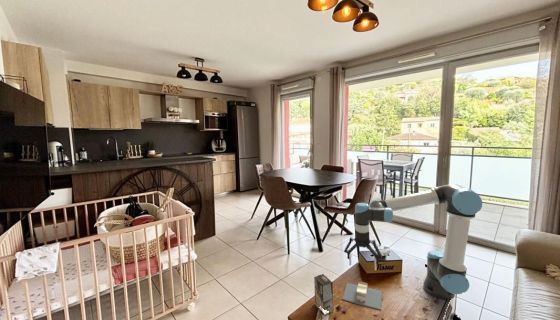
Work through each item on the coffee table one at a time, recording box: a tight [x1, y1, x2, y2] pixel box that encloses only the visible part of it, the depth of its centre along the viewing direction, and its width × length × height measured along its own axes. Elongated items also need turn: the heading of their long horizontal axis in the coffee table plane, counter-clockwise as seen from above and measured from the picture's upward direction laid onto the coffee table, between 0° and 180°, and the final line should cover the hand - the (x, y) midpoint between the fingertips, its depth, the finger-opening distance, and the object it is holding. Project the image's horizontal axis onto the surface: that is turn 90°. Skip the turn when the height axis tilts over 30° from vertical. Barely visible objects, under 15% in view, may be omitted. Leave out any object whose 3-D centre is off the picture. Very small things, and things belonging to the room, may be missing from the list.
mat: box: [341, 282, 383, 311], centre depth 132 cm, size 20×16×1 cm
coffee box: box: [313, 273, 334, 313], centre depth 123 cm, size 9×6×16 cm
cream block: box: [357, 281, 369, 301], centre depth 132 cm, size 10×5×4 cm, turn 154°
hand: (362, 266), depth 131 cm, fingers open, 13 cm apart
